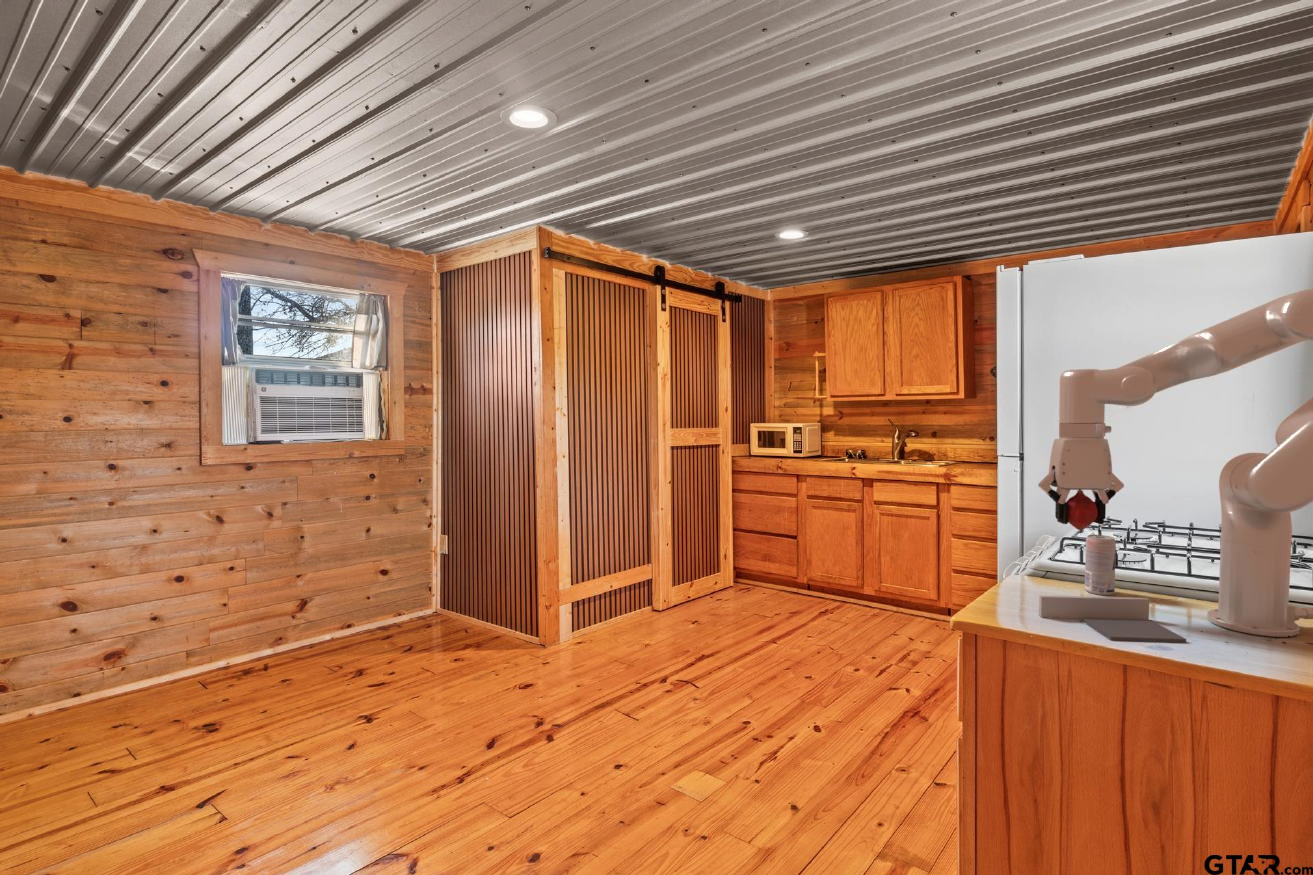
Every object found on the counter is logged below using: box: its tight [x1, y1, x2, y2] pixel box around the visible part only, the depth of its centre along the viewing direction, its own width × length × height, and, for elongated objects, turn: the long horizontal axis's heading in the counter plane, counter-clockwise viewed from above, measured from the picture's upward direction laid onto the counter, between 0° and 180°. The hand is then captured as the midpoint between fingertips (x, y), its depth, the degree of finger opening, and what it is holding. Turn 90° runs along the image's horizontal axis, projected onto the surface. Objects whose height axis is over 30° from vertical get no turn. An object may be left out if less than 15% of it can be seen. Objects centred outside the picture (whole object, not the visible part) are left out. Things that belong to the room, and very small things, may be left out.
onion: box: [1066, 490, 1097, 531], centre depth 133 cm, size 6×6×8 cm
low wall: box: [1038, 594, 1150, 620], centre depth 127 cm, size 19×1×4 cm, turn 83°
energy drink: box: [1084, 534, 1117, 596], centre depth 144 cm, size 5×5×12 cm
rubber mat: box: [1081, 618, 1187, 644], centre depth 120 cm, size 12×10×1 cm
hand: (1080, 522), depth 133 cm, fingers closed on onion, 5 cm apart
